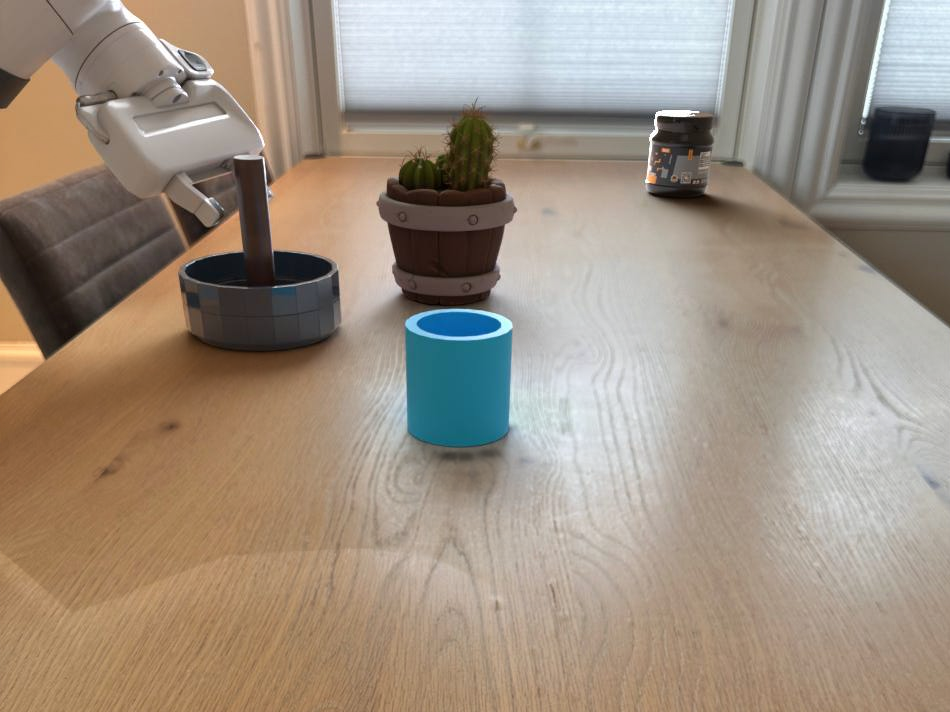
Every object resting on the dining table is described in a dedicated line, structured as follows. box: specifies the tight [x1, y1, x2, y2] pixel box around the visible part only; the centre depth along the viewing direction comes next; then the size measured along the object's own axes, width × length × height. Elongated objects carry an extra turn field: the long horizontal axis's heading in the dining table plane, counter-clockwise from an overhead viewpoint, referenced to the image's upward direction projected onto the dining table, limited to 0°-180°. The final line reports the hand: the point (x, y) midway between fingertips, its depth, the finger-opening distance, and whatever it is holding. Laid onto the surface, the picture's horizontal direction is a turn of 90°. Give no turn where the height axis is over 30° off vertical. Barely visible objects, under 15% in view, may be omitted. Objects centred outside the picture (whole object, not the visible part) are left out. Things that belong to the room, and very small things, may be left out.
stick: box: [233, 154, 276, 287], centre depth 94 cm, size 5×5×15 cm
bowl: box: [177, 249, 342, 352], centre depth 97 cm, size 15×15×6 cm
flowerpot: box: [375, 95, 518, 306], centre depth 105 cm, size 14×15×20 cm
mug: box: [404, 308, 513, 448], centre depth 78 cm, size 12×8×8 cm
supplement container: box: [645, 110, 715, 199], centre depth 164 cm, size 10×10×12 cm
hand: (243, 211), depth 93 cm, fingers open, 8 cm apart
